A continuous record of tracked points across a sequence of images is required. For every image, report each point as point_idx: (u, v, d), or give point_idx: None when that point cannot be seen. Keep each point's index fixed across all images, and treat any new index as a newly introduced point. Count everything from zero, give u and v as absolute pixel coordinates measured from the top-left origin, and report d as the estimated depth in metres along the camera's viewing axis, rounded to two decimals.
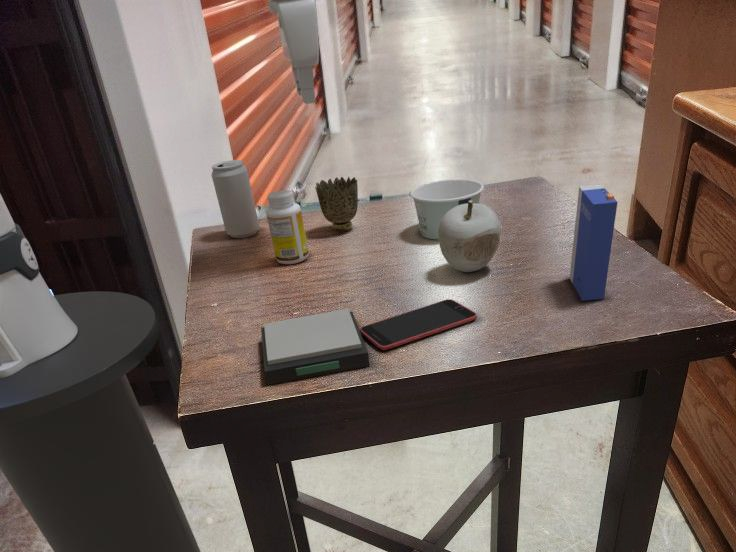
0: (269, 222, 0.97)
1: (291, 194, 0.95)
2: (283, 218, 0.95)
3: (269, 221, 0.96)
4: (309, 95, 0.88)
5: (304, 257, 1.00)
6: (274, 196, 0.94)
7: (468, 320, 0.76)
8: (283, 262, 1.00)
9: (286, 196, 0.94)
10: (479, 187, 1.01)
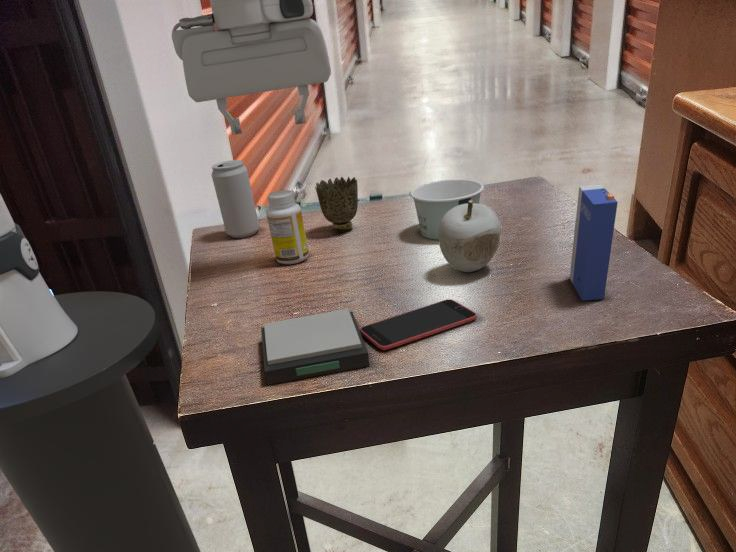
0: (269, 222, 0.97)
1: (291, 194, 0.95)
2: (283, 218, 0.95)
3: (269, 221, 0.96)
4: None
5: (304, 257, 1.00)
6: (274, 196, 0.94)
7: (468, 320, 0.76)
8: (283, 262, 1.00)
9: (286, 196, 0.94)
10: (479, 187, 1.01)
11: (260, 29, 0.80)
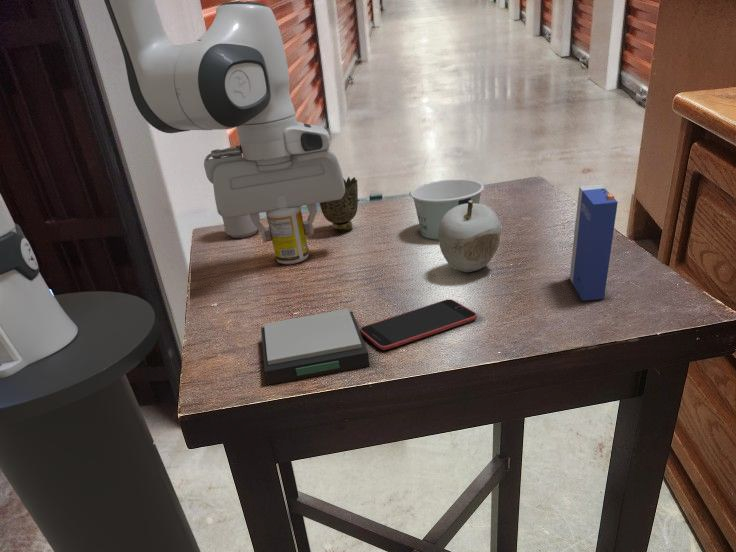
0: (269, 222, 0.97)
1: None
2: (283, 218, 0.95)
3: (269, 221, 0.96)
4: None
5: (304, 257, 1.00)
6: None
7: (468, 320, 0.76)
8: (283, 262, 1.00)
9: None
10: (479, 187, 1.01)
11: (283, 160, 0.90)
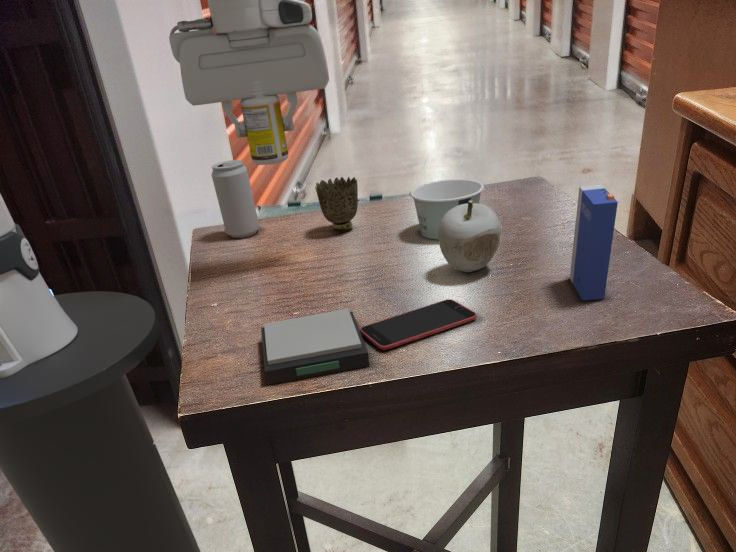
0: (244, 113, 0.86)
1: None
2: (259, 107, 0.85)
3: (244, 111, 0.86)
4: None
5: (283, 157, 0.90)
6: None
7: (468, 320, 0.76)
8: (259, 162, 0.90)
9: None
10: (479, 187, 1.01)
11: (258, 34, 0.80)
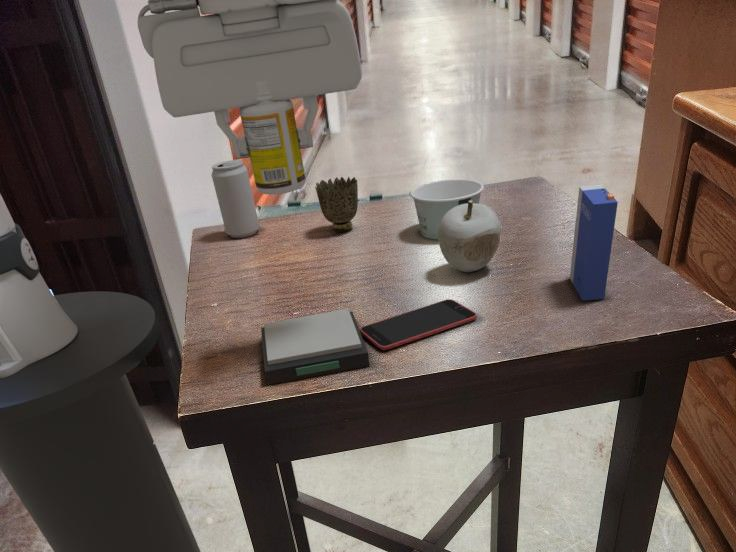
0: (244, 126, 0.63)
1: None
2: (265, 118, 0.61)
3: (244, 123, 0.62)
4: None
5: (299, 184, 0.66)
6: None
7: (468, 320, 0.76)
8: (267, 191, 0.66)
9: None
10: (479, 187, 1.01)
11: (264, 14, 0.56)
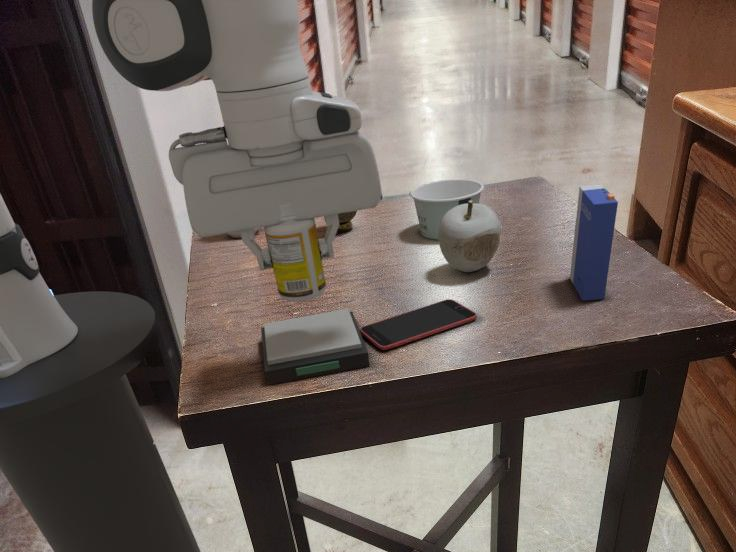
0: (268, 241, 0.65)
1: None
2: (289, 237, 0.64)
3: (269, 240, 0.65)
4: None
5: (320, 291, 0.69)
6: None
7: (468, 320, 0.76)
8: (289, 299, 0.69)
9: None
10: (479, 187, 1.01)
11: (289, 148, 0.59)
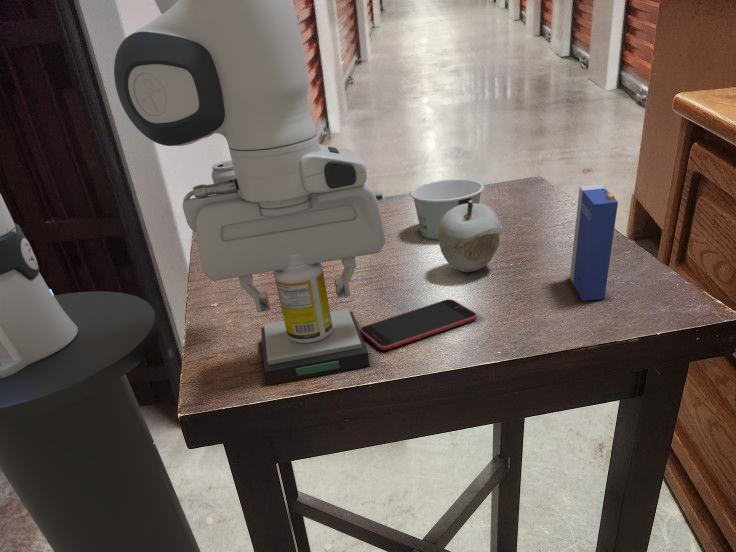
0: (278, 288, 0.69)
1: None
2: (298, 284, 0.67)
3: (279, 286, 0.68)
4: None
5: (326, 333, 0.72)
6: None
7: (468, 320, 0.76)
8: (297, 340, 0.72)
9: None
10: (479, 187, 1.01)
11: (298, 200, 0.62)
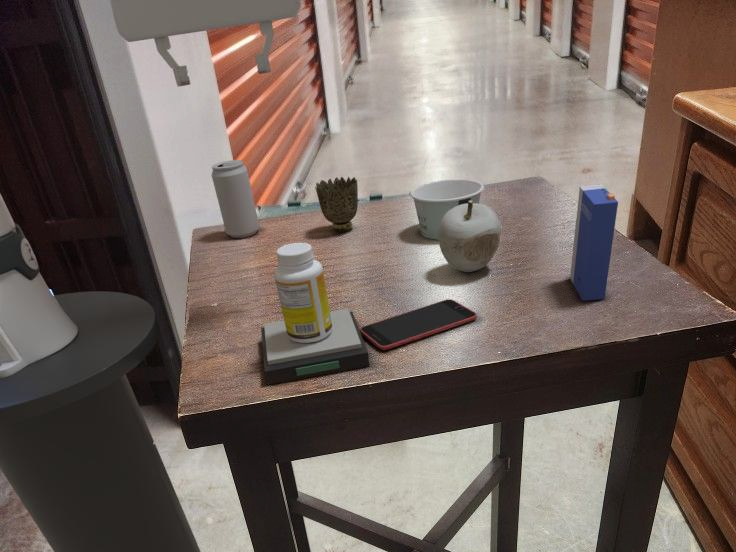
0: (278, 288, 0.69)
1: (310, 250, 0.67)
2: (298, 284, 0.67)
3: (279, 286, 0.68)
4: None
5: (326, 333, 0.72)
6: (286, 253, 0.66)
7: (468, 320, 0.76)
8: (297, 340, 0.72)
9: (303, 253, 0.66)
10: (479, 187, 1.01)
11: None
